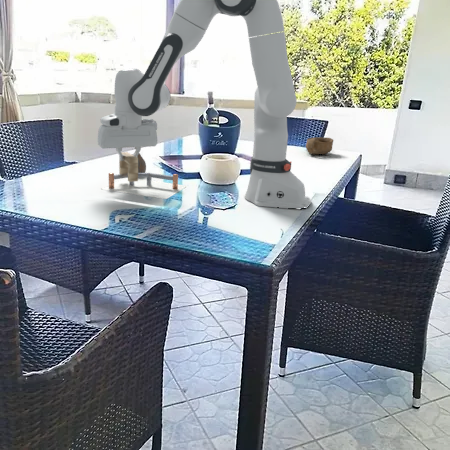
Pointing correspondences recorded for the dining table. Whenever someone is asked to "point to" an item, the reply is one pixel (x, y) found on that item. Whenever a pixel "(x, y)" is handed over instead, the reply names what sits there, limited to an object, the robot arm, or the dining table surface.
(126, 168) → the wooden arch
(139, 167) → the vase
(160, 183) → the board
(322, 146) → the bowl
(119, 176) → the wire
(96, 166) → the dining table surface
